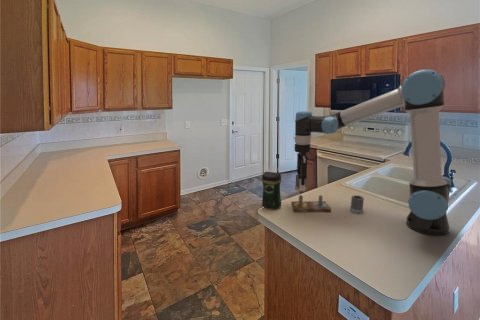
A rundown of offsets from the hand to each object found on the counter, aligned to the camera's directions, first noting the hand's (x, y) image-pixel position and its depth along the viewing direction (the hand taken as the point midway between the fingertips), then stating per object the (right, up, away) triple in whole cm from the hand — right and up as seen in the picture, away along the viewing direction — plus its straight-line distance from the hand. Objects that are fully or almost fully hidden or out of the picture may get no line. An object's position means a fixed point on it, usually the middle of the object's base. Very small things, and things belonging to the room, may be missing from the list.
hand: (300, 188), depth 136 cm
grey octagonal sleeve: (+27, -11, -2) cm, 29 cm away
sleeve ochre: (0, 0, 0) cm, 0 cm away
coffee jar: (-14, -10, +5) cm, 18 cm away
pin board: (+5, -10, +2) cm, 12 cm away
